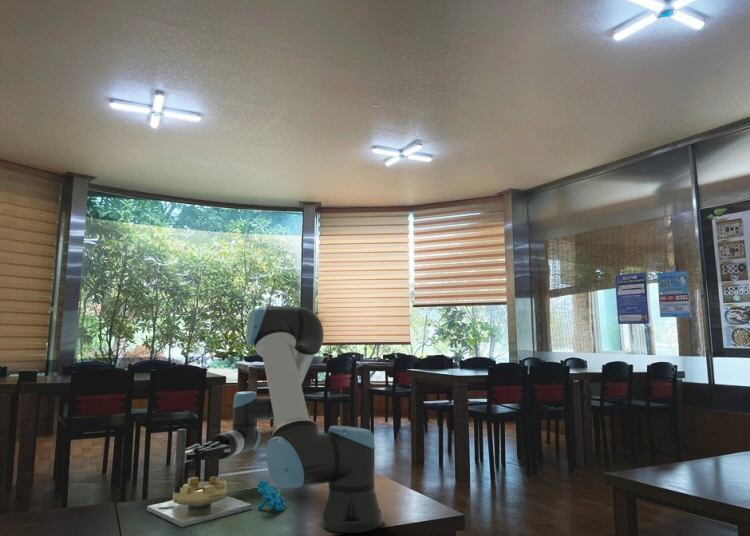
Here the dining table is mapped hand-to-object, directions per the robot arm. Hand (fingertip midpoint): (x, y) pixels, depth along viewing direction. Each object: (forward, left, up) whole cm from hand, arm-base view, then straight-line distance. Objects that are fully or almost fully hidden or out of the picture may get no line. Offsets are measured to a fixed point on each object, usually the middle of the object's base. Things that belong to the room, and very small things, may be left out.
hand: (176, 459), depth 138 cm
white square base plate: (-3, -6, -14) cm, 15 cm away
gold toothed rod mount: (-3, -6, -10) cm, 12 cm away
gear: (-17, -20, -14) cm, 30 cm away
